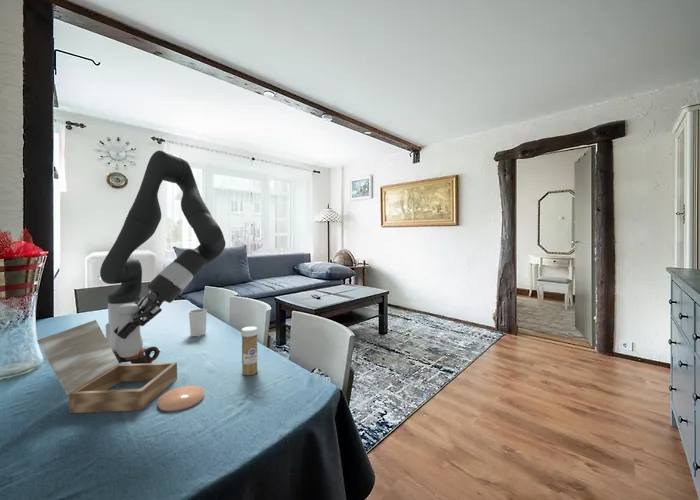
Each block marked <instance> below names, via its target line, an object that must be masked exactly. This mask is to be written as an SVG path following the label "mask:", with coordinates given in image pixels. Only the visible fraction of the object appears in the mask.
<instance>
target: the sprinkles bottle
mask: <svg viewBox="0 0 700 500" xmlns="http://www.w3.org/2000/svg"><path fill="white" fill-rule="evenodd" d="M258 329H259V328H258V327H257V326H253V325H252V326H245V327H243V328H241V335H240V336H241V341H242V342H241V364H242V368H241V369H242V370H241V374H242V375H243V376H253V375H256V374H257V373H258V371H259V370H258V369H259V368H258V333H259V331H258Z"/></svg>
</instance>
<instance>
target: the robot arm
mask: <svg viewBox="0 0 700 500" xmlns="http://www.w3.org/2000/svg"><path fill="white" fill-rule="evenodd" d="M143 174H144V175H143V178H142V181H141V184H140V187H139V189H138V192H137V194H136V197H135V199H134V201H133V204H132V205H131V207H130V209H129V211H128V214H127V215H126V218H125V220H124V222H123V225H122V228H121V229H120V231H119V234H118V235H117V237H116V240H115V241H114V243H113V244H112V247H111V249H110V250H109V252H108V253H107V255H106V256H105V257H104V259H103V262H102V264H101V267H100V270H99V273H100V274H99V275H100V279H101V281H102V282H103V283H105V284H108V285H117V284H120V286H119V288H117V289H116V290H114V291H113V292H111V293H109V294H108V295H107V311H108V313H107V316H108V317H107V318H108V323H106V324H105V338H106V340H107V342H108V343H109V345H110V347H111V349H112V351H113V353H117V352H116V350H115V342H116V337H117V335H118V336H119V337H121V338H122V339H126V338H127V336H128V335H129V334H130V333H131V332H133V331H134V330H135V329H136V328H137V327H139V330H140V334H142V333H141V327H144V326H145V325H146V324H147V323H149V322H150V321H151V320H153V318H155V317H156V316H157V315H158V314H159V313H161V312H162V308H161V306H162V304H163V303H164V302H166V303H169V304H170V303H172V302H173V301H174V300H175V299H176V298H177V297H178V296H179V295H180V294H181V293H182V292H183V290H185V289H186V288H187V286H189V284H190V283H191V282H192V280H193V279H194V278H195V277H196V275H197V274H198V273H199V272H200V271H201V270H202V269H203V268H204V267H205V266H206V265H208V264H209V263H211V262H212V261H214V260H215V259H216V258H218V257H219V256H220V255H221V254H222V253H223V251H224V250H225V247H226V240H225V237H224V233H223V230H222V229H221V227H220V225H219V224H218V222H217V221H216V220H215V219H214V217H213V216H212V214H211V212H210V210H209V208H208V207H207V205H206V203H205V201H204V200H203V198H202V196H201V194H200V191H199V189H198V188H199V187H198V185H197V181H196V178H195V176H194V174H193V170H192V168H191V166H190V164H189V162H188V161H187V160H186V158H184V157H181V156H179V155H177V154H173V153H171V152H167V151H164V150H156V151H155V152H153V154H152V155H151V156H150V158H149V161H148V163H147V164H146V169H145V172H144V173H143ZM163 181H164V182H168V183H172V184H176V185H177V186H178V187H179V188H180V190H181V191H182V196H181V198H180V207H181V211H182V213H183V215H184V218H185V219H186V221H187V222H188V224H189V226H190V227H191V228H192V229H193V232H194V234H195V236H196V238H197V240H198V242H199V245H197V247H195V248H194V249H193V248H192V249H191V248H187V249H185V250H184V251H182V252H181V253H180V254H179V255H178V256H177V257H176V258H175V259H174V260H172V262H171V263H169V264H168V265H167V266H166V267H165V268H163V270H162V271H160V272H159V273H158V274H157V275H156V276H155V277H154V278H153V279H152V280H151V281H150V282H149V283H148V284H147V285H146V289H147V290H148V291H150V292H149V293H148V294H147V295H145V296H143V297H140V296H141V293H142V288H143V287H142V286H143V285H142V284H143V283H142V282H143V281H142V280H143V268H142V263H141V262H140V260H139V259H138V258H137V257H134V256H132V253H134V252H135V251H136V250H137V249H138V248H139V247H141V246H142V245H143V244H144V243H146V242H147V241H148V240H149V239H150V238H151V237H153V235H154V234H155V232H156V231H157V229H158V227H159V225H160V222H161V220H162V211H161V205H160V202H159V201H160V200H159V198H158V197H159V196H158V195H159V190H160V188H161V187H160V186H161V184H162V183H163ZM131 303H133V304H137V305H138V309H137V311H136V313H135V315H134V317H133V318H132V319H131V320H130V322H131V323H130V322H128V323H127V324H126V325H125V326H124V327H123V328H122V329H121V330H120V331H119V332H118V327H119V321H120V316H121V315H119V314H118V311H117V309H118V307H119V306H121V305H124V304H131ZM117 332H118V333H117Z"/></svg>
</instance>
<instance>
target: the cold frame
mask: <svg viewBox="0 0 700 500" xmlns="http://www.w3.org/2000/svg"><path fill="white" fill-rule="evenodd" d="M36 342H37V344H38V345H39V346H40V349H41V351H42V352H43V354H44V357H45V358H46V360H47V361H48V363H49V365H50V367H51V369H52V371H53V373H54V374H55V376H56V378H57V380H58V381H59V383H60V385H61V387H62V388H63V391H65V392H64V393H65V394H66V395H68V409H69V411H68V412H69V414H77V413H78V414H79V413H81V414H83V413H99V412H100V413H102V412H103V413H105V412H127V411H129V412H131V411H143V410H144V409H145V408H146V407H148V406H149V404H151V403H152V402H153V401H154V400H155V399H157V398H158V397H159V395H160V394H162V393H163V392H164V391H165V390H166V389H167V388H168V387H169V386H170V385H172V383H174V382H175V381H176V380H177V379H178V362H155V363H154V362H152V363H147V364H131V363H123V364H121V363H119V362H118V360H117V358H116V356H115V355H114V354H115V352H113V351H112V349H111V347H110V345H109V343H108V342H107V340H106V335H104V333H103V331H102V329H101V327H100V324H99V323H98V322H97V320H96V319H94V320H92V321H88V322H85V323H83V324H80V325H77V326H74V327H71V328H68V329H65V330H63V331H60V332H57V333H54V334H50V335H49V336H45V337H42V338H40V339H37V340H36ZM140 381H141V382H144V381H145V382H148V383H146V384H144V386H141V387H140V389H139V388H138V389H135V388H134V389H111V388H112V387H114V386H115V385H117V384H118V383H120V382H140Z"/></svg>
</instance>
